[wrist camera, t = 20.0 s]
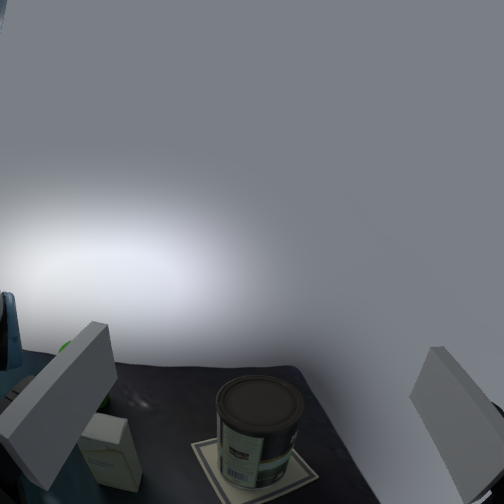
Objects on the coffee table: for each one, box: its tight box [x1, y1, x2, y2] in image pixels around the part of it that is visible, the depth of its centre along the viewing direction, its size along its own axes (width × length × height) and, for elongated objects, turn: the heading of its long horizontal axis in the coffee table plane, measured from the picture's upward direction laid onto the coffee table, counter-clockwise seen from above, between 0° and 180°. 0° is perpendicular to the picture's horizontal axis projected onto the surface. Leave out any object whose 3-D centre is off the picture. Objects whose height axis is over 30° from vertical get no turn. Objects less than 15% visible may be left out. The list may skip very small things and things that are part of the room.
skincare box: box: [77, 412, 142, 492], centre depth 26 cm, size 6×4×12 cm
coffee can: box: [216, 375, 305, 491], centre depth 32 cm, size 10×10×14 cm
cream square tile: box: [191, 438, 319, 504], centre depth 34 cm, size 14×14×1 cm
